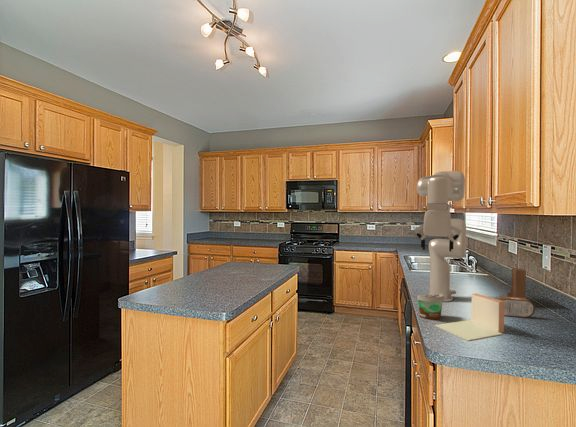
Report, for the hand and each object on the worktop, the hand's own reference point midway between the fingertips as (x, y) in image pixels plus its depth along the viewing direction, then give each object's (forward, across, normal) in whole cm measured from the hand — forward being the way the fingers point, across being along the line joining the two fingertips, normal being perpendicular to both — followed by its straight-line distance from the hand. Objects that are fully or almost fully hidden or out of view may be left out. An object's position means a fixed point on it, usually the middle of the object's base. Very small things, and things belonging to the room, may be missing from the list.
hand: (436, 250), depth 125 cm
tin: (+31, -31, -29) cm, 53 cm away
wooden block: (+31, -36, -51) cm, 70 cm away
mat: (+31, -11, -1) cm, 33 cm away
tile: (+31, -18, -9) cm, 37 cm away
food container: (+31, +1, -9) cm, 33 cm away
